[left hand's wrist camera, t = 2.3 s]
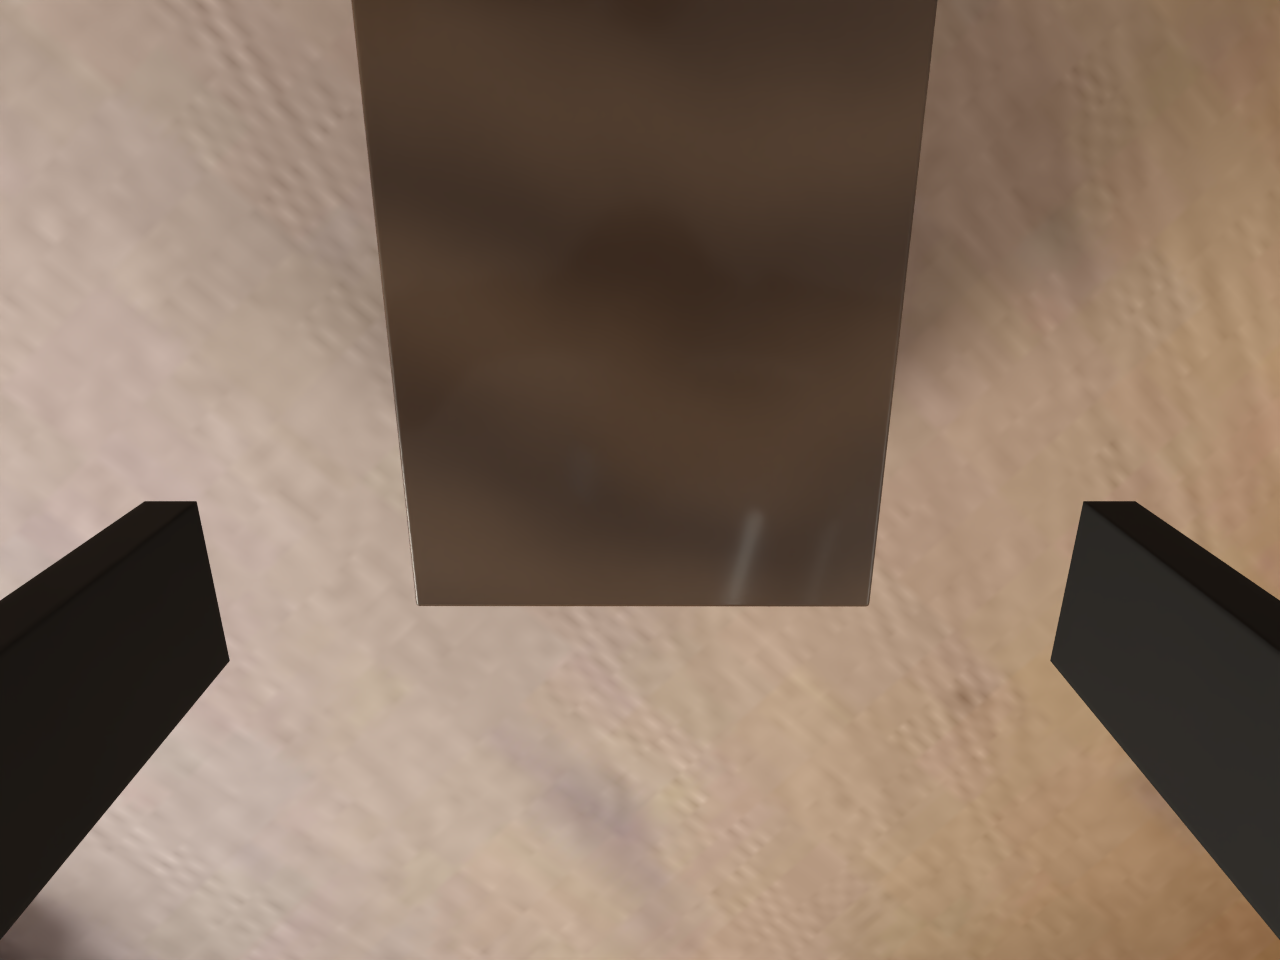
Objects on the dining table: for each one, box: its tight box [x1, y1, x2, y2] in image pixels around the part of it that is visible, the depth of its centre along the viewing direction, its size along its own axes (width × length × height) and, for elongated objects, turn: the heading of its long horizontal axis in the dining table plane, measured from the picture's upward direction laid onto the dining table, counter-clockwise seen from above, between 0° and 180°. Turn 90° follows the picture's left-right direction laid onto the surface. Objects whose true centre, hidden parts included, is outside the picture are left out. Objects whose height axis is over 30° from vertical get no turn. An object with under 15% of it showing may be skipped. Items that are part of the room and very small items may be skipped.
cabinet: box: [351, 0, 937, 606], centre depth 21 cm, size 17×11×11 cm, turn 0°
